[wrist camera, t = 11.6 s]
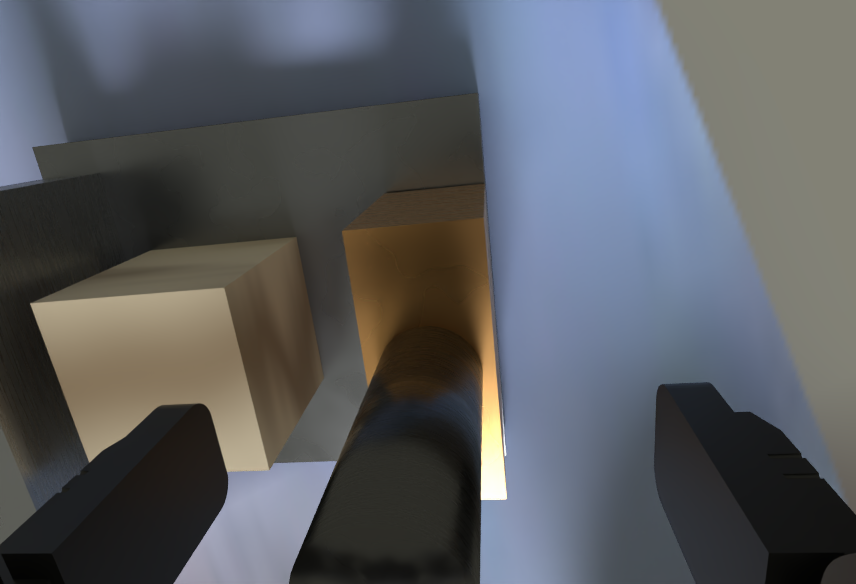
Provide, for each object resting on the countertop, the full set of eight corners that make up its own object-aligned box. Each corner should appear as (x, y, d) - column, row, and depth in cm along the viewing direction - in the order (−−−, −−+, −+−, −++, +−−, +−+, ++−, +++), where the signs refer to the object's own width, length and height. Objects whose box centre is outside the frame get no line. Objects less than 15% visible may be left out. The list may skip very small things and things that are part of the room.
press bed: (505, 430, 20) (514, 604, 13) (161, 444, 22) (10, 602, 15) (478, 93, 17) (472, 86, 10) (67, 143, 18) (-193, 168, 11)
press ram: (501, 395, 18) (521, 791, 8) (412, 399, 18) (317, 780, 8) (484, 183, 16) (480, 337, 5) (384, 193, 16) (201, 354, 6)
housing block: (324, 378, 19) (269, 470, 14) (189, 385, 19) (94, 475, 15) (296, 236, 17) (223, 288, 12) (150, 250, 18) (29, 303, 13)
